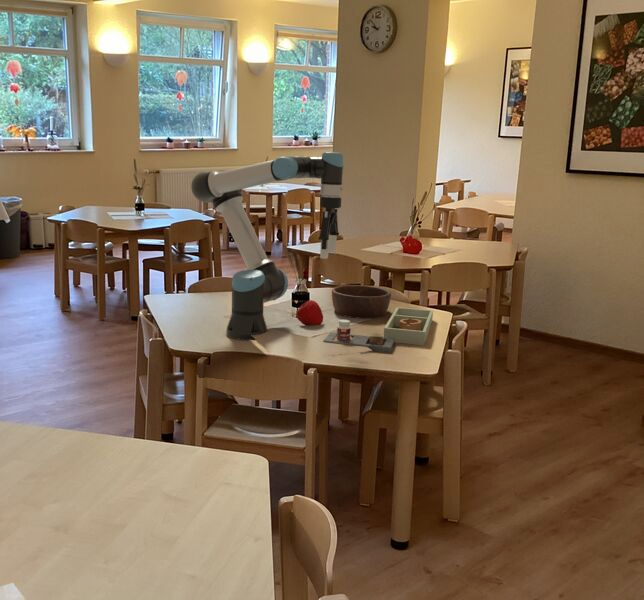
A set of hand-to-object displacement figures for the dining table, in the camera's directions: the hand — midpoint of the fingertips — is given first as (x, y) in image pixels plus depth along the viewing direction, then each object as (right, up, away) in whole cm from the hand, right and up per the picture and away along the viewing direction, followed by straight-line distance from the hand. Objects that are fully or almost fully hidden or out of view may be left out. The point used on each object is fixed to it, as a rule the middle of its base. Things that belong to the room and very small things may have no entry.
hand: (328, 255), depth 271 cm
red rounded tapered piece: (-3, -26, +20) cm, 33 cm away
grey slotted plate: (+11, -32, -1) cm, 34 cm away
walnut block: (+17, -33, -2) cm, 37 cm away
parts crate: (+32, -28, +22) cm, 48 cm away
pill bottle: (+5, -32, 0) cm, 32 cm away
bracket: (+33, -30, +26) cm, 52 cm away
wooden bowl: (+14, -22, +46) cm, 53 cm away
